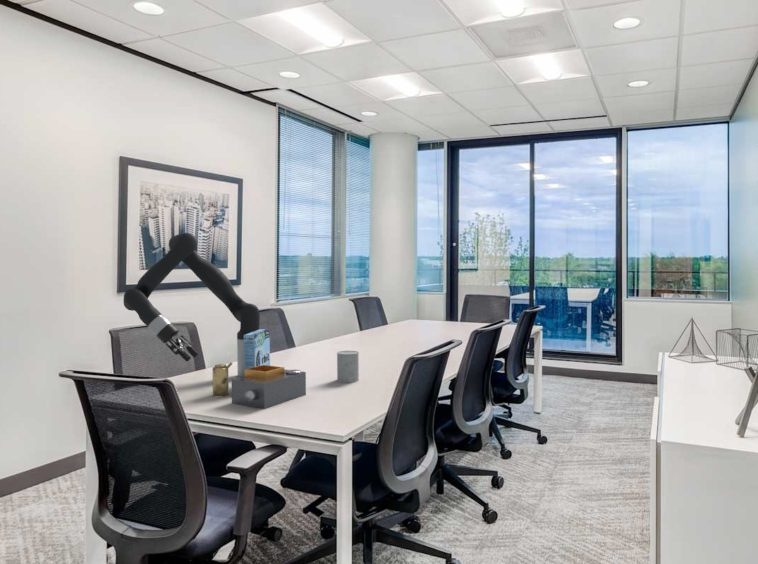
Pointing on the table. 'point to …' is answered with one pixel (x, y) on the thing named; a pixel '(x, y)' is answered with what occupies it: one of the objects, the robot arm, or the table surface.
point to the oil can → (220, 380)
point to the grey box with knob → (268, 386)
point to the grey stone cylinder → (347, 366)
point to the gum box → (256, 349)
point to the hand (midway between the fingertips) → (193, 357)
